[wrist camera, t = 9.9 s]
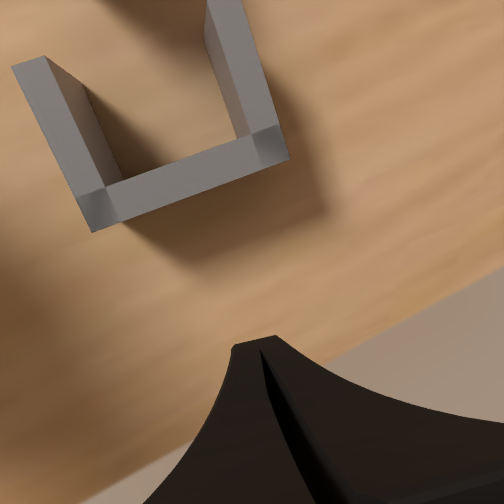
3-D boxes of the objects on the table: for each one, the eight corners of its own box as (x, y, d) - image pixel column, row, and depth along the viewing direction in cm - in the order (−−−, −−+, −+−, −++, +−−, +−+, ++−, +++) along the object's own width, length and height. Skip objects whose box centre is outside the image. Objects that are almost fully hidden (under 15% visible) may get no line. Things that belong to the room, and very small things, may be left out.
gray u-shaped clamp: (114, 217, 15) (91, 232, 12) (55, 90, 14) (10, 66, 11) (269, 160, 16) (290, 158, 12) (227, 32, 14) (237, -10, 11)
